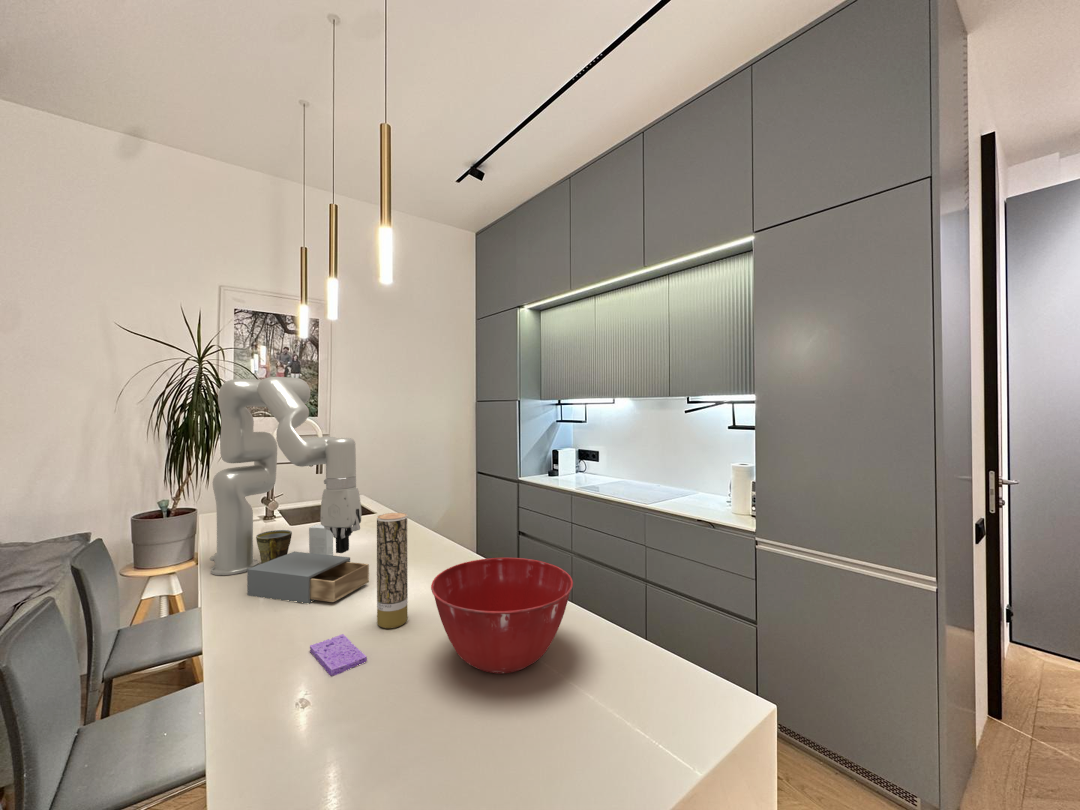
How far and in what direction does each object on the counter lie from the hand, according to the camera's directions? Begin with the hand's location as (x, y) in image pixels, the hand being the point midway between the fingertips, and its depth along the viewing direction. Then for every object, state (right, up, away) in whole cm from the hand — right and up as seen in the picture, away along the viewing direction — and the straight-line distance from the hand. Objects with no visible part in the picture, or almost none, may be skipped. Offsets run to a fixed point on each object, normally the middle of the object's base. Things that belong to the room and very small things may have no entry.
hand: (342, 551), depth 126 cm
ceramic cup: (-31, -12, +22) cm, 40 cm away
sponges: (+12, -12, -32) cm, 36 cm away
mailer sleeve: (-13, -12, +4) cm, 18 cm away
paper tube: (+19, -12, -17) cm, 28 cm away
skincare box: (-17, -12, +25) cm, 33 cm away
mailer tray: (-6, -10, +2) cm, 12 cm away
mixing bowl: (+46, -11, -31) cm, 57 cm away
